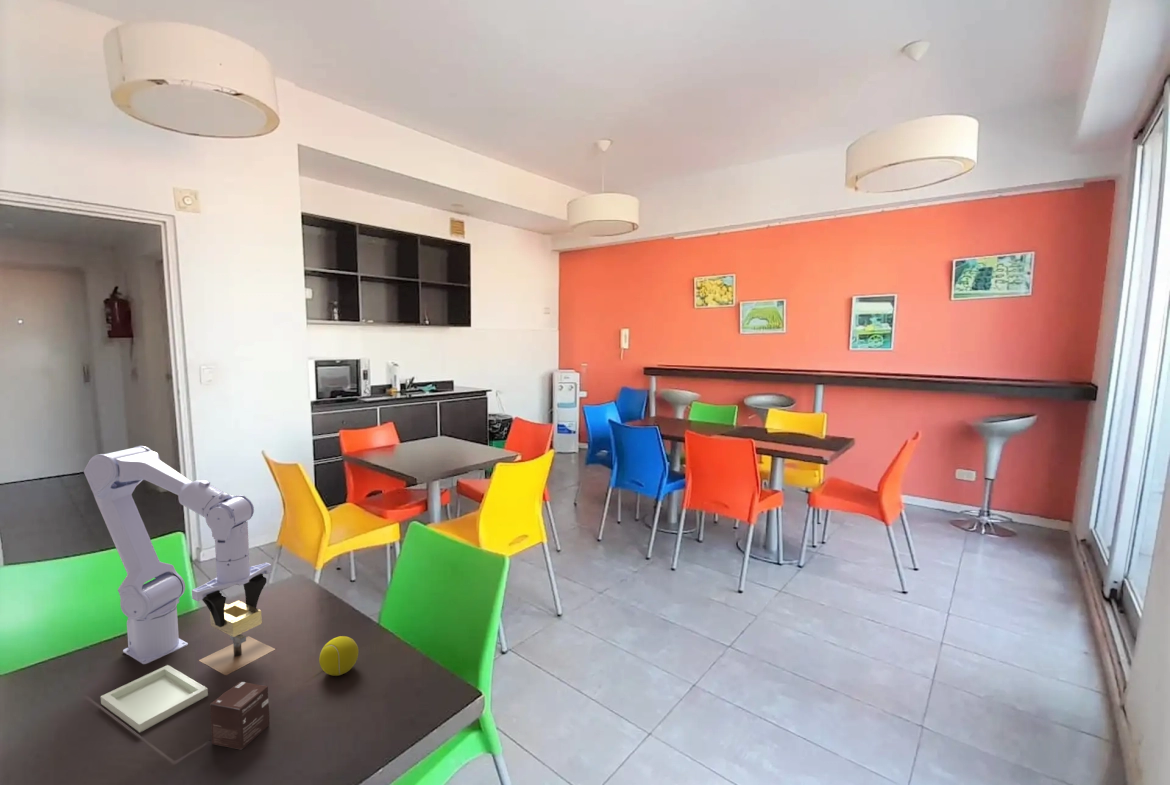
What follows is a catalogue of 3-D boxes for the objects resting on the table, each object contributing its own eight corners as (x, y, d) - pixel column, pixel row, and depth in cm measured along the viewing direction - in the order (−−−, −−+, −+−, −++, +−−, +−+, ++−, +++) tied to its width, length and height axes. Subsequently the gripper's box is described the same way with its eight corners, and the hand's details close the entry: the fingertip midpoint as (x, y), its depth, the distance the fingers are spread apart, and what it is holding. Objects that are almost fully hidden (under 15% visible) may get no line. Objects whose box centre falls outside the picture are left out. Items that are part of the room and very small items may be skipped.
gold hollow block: (233, 637, 103) (232, 623, 103) (207, 624, 108) (206, 611, 107) (261, 623, 108) (261, 610, 108) (235, 612, 113) (235, 599, 112)
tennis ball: (339, 658, 109) (338, 626, 108) (365, 665, 106) (365, 633, 106) (312, 678, 102) (311, 645, 101) (339, 686, 100) (338, 652, 99)
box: (241, 751, 84) (238, 710, 83) (210, 745, 85) (208, 704, 84) (270, 724, 90) (269, 685, 89) (241, 718, 91) (239, 680, 90)
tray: (101, 705, 93) (100, 696, 93) (168, 673, 103) (167, 664, 102) (140, 734, 87) (139, 724, 87) (207, 697, 96) (207, 688, 96)
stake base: (198, 662, 106) (198, 660, 106) (248, 637, 115) (248, 636, 115) (225, 677, 102) (225, 675, 102) (275, 650, 111) (275, 649, 111)
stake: (230, 654, 108) (229, 634, 108) (237, 650, 110) (236, 631, 109) (240, 659, 107) (239, 639, 106) (247, 655, 108) (246, 636, 108)
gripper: (204, 574, 98) (208, 641, 99) (279, 547, 111) (281, 607, 112) (184, 566, 101) (188, 631, 103) (259, 541, 114) (262, 599, 115)
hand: (235, 618), depth 108 cm, fingers closed on gold hollow block, 6 cm apart
